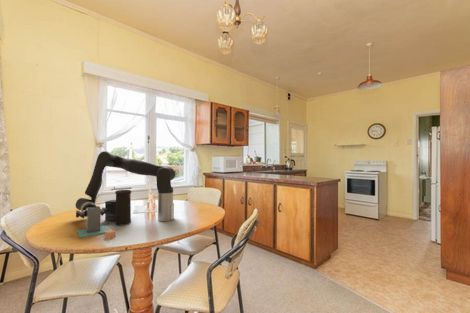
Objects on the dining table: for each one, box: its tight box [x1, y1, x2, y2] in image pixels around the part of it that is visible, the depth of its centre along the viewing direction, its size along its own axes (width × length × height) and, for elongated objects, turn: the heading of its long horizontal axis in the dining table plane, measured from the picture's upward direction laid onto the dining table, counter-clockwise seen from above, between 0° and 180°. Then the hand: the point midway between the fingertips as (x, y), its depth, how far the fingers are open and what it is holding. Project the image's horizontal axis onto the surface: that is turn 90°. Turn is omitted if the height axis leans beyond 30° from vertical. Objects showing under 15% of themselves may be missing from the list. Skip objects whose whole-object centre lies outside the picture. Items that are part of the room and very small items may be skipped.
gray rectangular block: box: [86, 205, 102, 233], centre depth 120 cm, size 6×6×12 cm
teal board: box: [77, 224, 109, 239], centre depth 120 cm, size 13×13×1 cm
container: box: [114, 189, 132, 226], centre depth 136 cm, size 9×9×20 cm
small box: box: [104, 199, 116, 222], centre depth 144 cm, size 13×7×12 cm, turn 84°
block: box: [104, 229, 116, 240], centre depth 112 cm, size 3×3×3 cm
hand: (93, 214), depth 120 cm, fingers open, 8 cm apart
